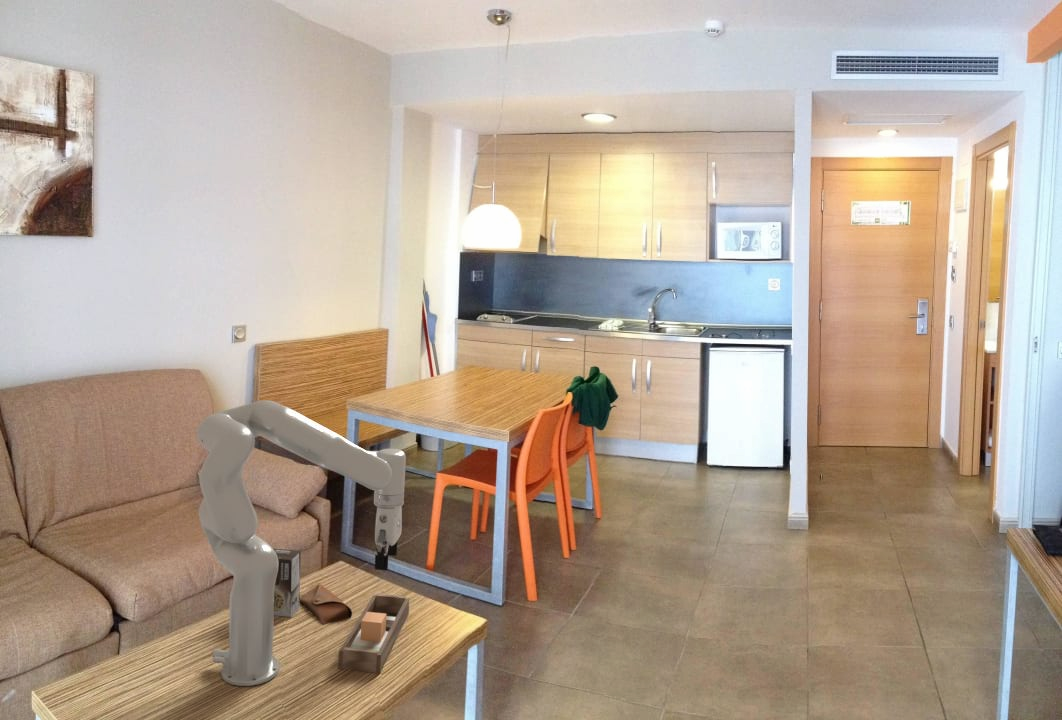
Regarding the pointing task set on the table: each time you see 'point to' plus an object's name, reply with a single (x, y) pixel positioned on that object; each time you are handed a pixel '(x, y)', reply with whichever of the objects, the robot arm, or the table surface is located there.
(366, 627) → the block
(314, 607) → the sunglasses case
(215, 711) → the table surface
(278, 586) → the coffee box
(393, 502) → the robot arm
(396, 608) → the trap box
